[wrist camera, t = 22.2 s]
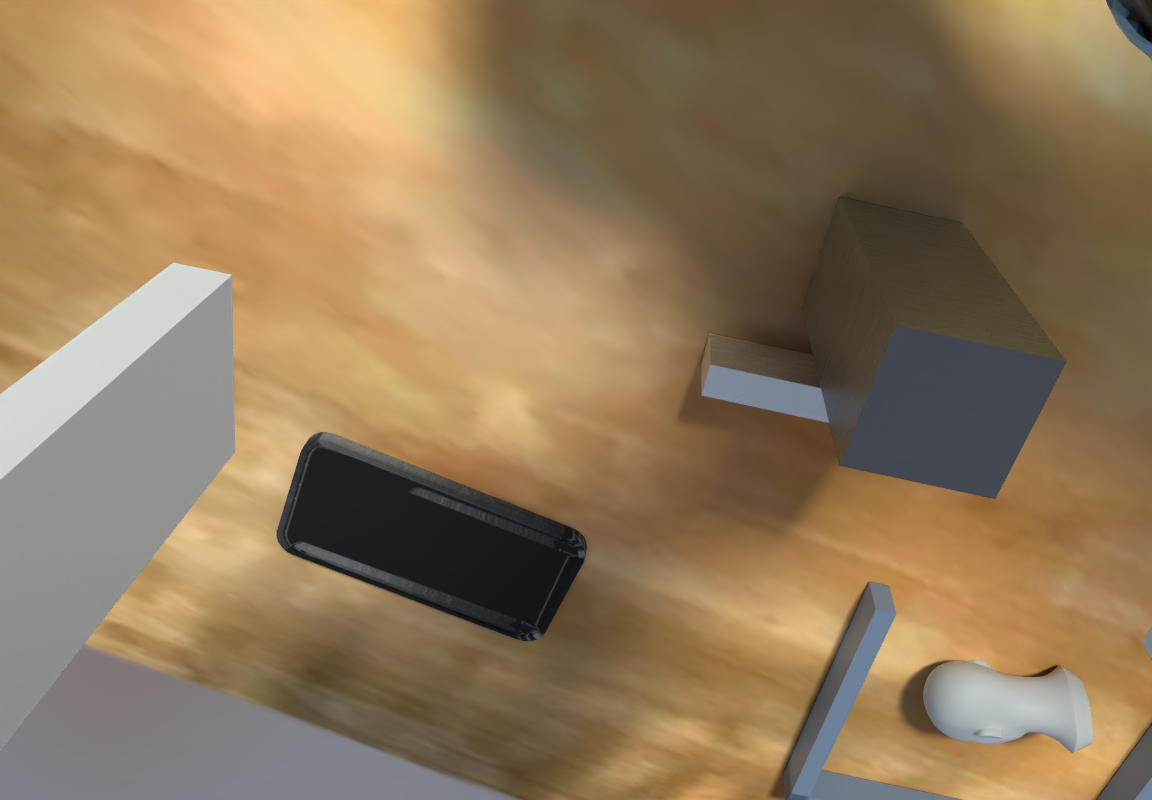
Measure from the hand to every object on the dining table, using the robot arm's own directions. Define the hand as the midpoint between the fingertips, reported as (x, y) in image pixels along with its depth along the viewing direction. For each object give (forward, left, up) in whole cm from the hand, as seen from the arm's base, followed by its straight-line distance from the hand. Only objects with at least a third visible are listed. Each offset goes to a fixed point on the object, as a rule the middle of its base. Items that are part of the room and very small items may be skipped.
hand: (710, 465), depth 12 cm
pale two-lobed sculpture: (+27, +22, -27) cm, 44 cm away
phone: (+25, -8, -27) cm, 38 cm away
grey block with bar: (+8, +9, -27) cm, 29 cm away
